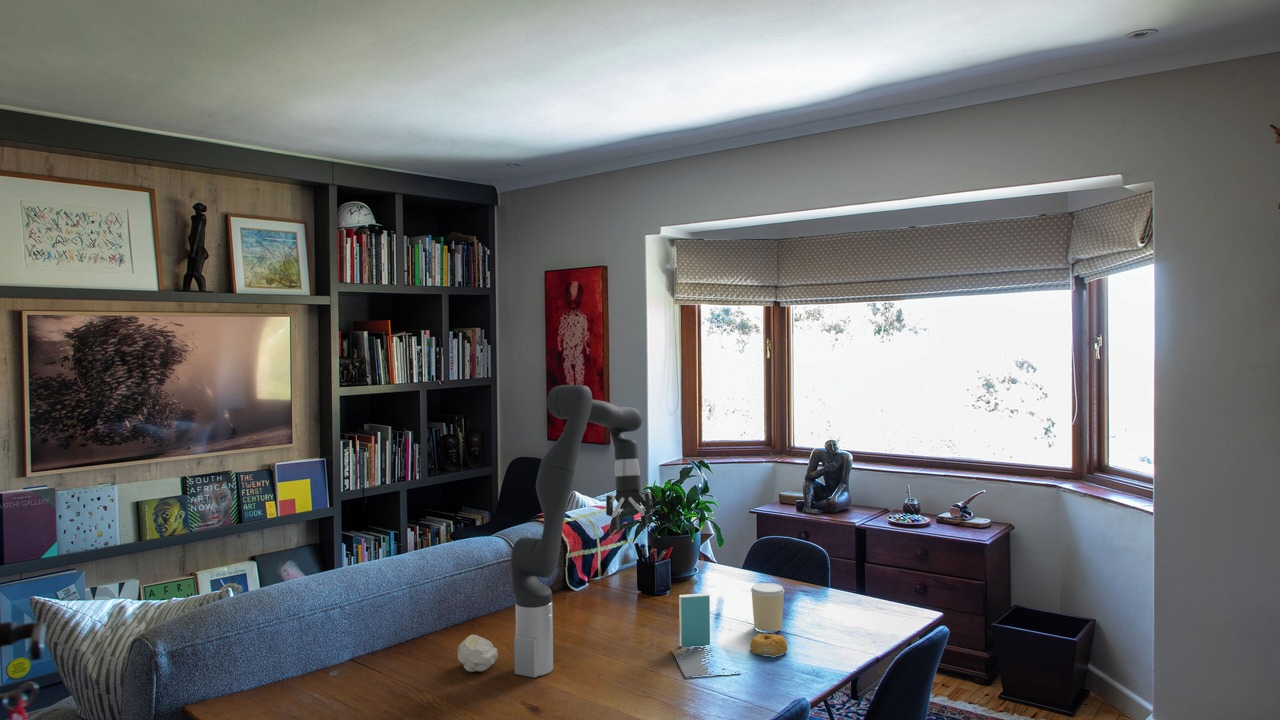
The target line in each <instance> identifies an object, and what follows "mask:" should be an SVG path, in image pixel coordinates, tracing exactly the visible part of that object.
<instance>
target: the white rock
mask: <svg viewBox="0 0 1280 720" xmlns="http://www.w3.org/2000/svg"><path fill="white" fill-rule="evenodd" d="M498 657H499V656H498V648H496V647H494V645H493V643H492V642H491V641H490V640H488V639H486V638H484V637H482V636H479V635H476V634H470V635H468V636H467V637H466V638H465V639H464V640H463V641H462V642H461V643H459V645H458V649H457V659H458V661H459V662H460V663H461V664H462V665H463V667H464V669H465V671H467V672H472V673H473V672H485V671H486V670H488V669H489V668H490V667H492V665H494V663H495V662H496V661H497V659H498Z"/></svg>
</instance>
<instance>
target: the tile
mask: <svg viewBox="0 0 1280 720" xmlns="http://www.w3.org/2000/svg"><path fill="white" fill-rule="evenodd" d="M710 597H711V595H710V594H709V593H708V592H707V593H691V594H688V593H687V594H679V597H678V598H679V599H678V601H679V602H678V605H679V607H678V608H679V615H678V618H679V647H680V646H681V647H691V646H705V645H710V646H711V610H710V609H711V608H710V607H711V603H710V602H711V600H710Z"/></svg>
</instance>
